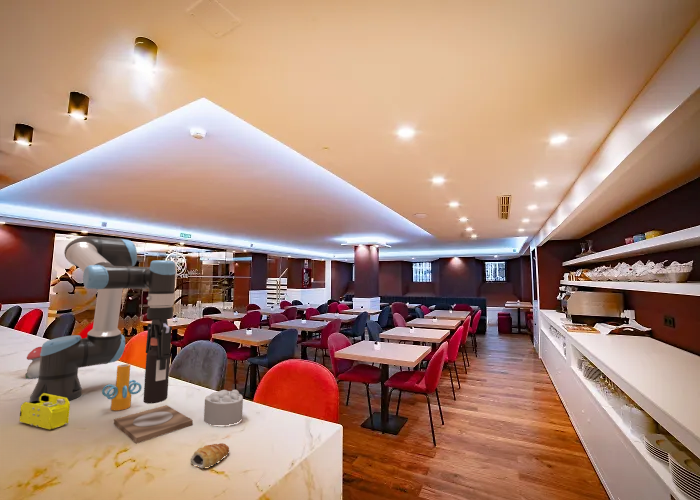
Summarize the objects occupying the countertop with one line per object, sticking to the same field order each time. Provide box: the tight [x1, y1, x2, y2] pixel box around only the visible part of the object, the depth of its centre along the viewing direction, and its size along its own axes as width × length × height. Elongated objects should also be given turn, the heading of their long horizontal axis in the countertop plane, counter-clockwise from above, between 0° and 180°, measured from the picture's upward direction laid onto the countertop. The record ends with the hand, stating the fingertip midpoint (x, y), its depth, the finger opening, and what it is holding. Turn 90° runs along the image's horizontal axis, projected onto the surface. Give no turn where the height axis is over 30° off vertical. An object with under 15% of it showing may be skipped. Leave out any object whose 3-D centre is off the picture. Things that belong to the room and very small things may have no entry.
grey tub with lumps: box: [203, 389, 244, 426], centre depth 110 cm, size 10×13×9 cm
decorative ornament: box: [24, 346, 42, 379], centre depth 158 cm, size 9×6×15 cm
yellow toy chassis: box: [18, 393, 71, 430], centre depth 105 cm, size 16×6×8 cm, turn 70°
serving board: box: [113, 404, 194, 444], centre depth 106 cm, size 20×16×2 cm
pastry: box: [190, 442, 230, 469], centre depth 85 cm, size 9×7×4 cm
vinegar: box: [142, 337, 171, 405], centre depth 107 cm, size 7×7×20 cm
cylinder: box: [101, 363, 142, 411], centre depth 120 cm, size 12×10×15 cm
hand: (156, 377), depth 107 cm, fingers closed on vinegar, 6 cm apart
